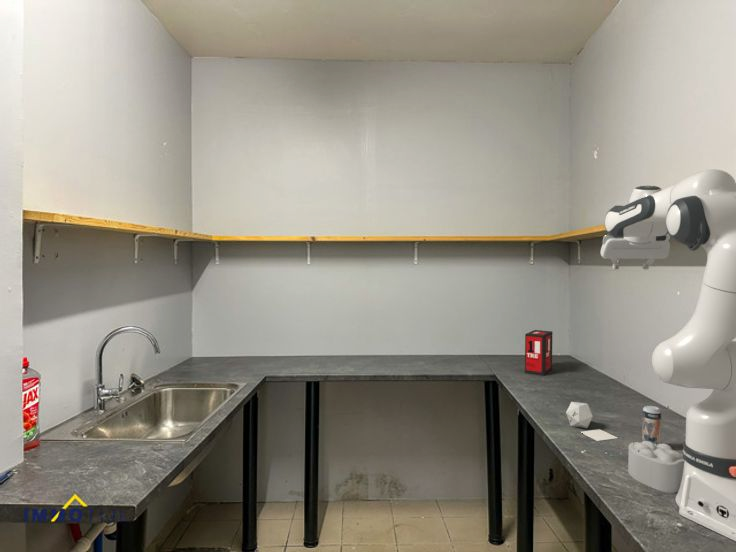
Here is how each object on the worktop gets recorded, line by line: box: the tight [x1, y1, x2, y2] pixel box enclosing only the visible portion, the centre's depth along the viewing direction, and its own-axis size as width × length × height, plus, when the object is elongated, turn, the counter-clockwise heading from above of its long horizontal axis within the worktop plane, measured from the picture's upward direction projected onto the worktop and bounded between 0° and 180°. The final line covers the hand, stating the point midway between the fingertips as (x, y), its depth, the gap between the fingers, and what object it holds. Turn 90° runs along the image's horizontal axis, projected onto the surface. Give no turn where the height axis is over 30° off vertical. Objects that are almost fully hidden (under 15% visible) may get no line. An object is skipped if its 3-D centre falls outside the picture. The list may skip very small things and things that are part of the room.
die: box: [565, 401, 594, 429], centre depth 151 cm, size 8×9×10 cm
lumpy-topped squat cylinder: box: [627, 441, 684, 494], centre depth 115 cm, size 10×13×9 cm
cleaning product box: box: [524, 329, 553, 377], centre depth 226 cm, size 16×9×20 cm, turn 143°
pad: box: [580, 428, 619, 442], centre depth 143 cm, size 8×8×1 cm
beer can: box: [641, 405, 662, 445], centre depth 134 cm, size 5×5×12 cm
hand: (630, 268), depth 153 cm, fingers open, 8 cm apart
